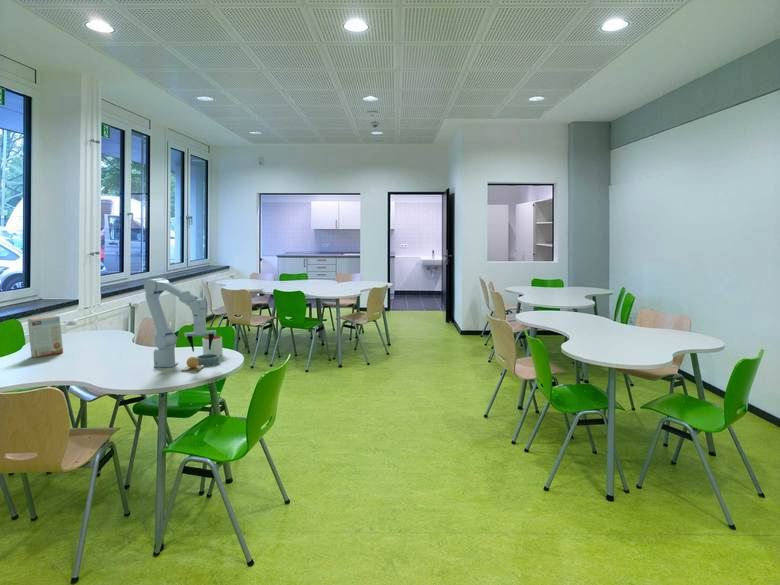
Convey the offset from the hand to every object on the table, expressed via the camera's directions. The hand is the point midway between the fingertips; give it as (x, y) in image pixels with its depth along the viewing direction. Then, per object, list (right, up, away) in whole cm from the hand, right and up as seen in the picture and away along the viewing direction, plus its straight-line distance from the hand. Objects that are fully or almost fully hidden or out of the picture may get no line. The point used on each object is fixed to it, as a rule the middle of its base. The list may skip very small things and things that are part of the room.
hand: (201, 350), depth 261 cm
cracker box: (-96, -6, +31) cm, 101 cm away
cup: (-3, -6, +26) cm, 27 cm away
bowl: (0, -8, +10) cm, 13 cm away
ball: (-4, -6, -2) cm, 7 cm away
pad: (-4, -9, -2) cm, 10 cm away
